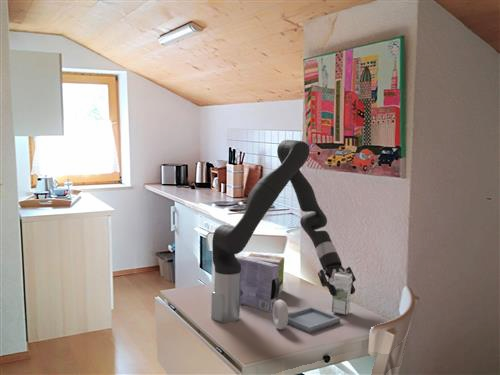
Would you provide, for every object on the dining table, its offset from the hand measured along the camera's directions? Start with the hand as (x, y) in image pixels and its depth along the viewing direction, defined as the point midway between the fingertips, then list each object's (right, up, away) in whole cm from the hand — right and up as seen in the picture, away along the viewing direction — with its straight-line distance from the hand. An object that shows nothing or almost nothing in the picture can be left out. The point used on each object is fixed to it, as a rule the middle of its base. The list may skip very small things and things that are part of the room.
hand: (344, 294), depth 190 cm
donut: (-25, -9, -15) cm, 30 cm away
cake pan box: (-33, -6, +7) cm, 34 cm away
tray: (-13, -8, -8) cm, 17 cm away
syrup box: (-1, -7, +2) cm, 7 cm away
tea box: (-29, -4, +25) cm, 39 cm away
